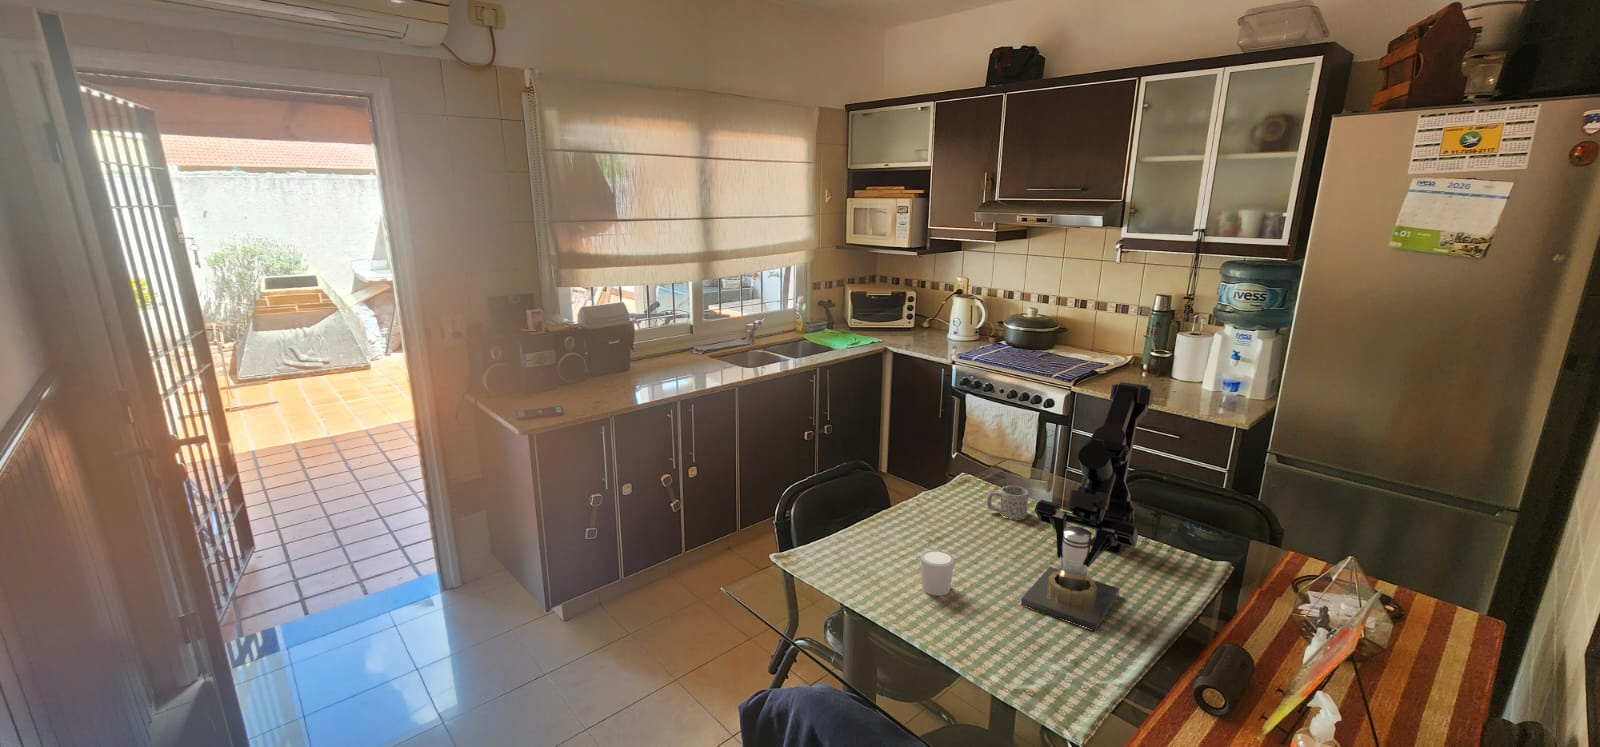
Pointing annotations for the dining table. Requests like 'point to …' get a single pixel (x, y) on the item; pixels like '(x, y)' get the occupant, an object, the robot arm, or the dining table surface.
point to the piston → (1074, 558)
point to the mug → (1011, 502)
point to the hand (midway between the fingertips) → (1072, 561)
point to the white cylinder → (936, 571)
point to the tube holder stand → (1071, 600)
